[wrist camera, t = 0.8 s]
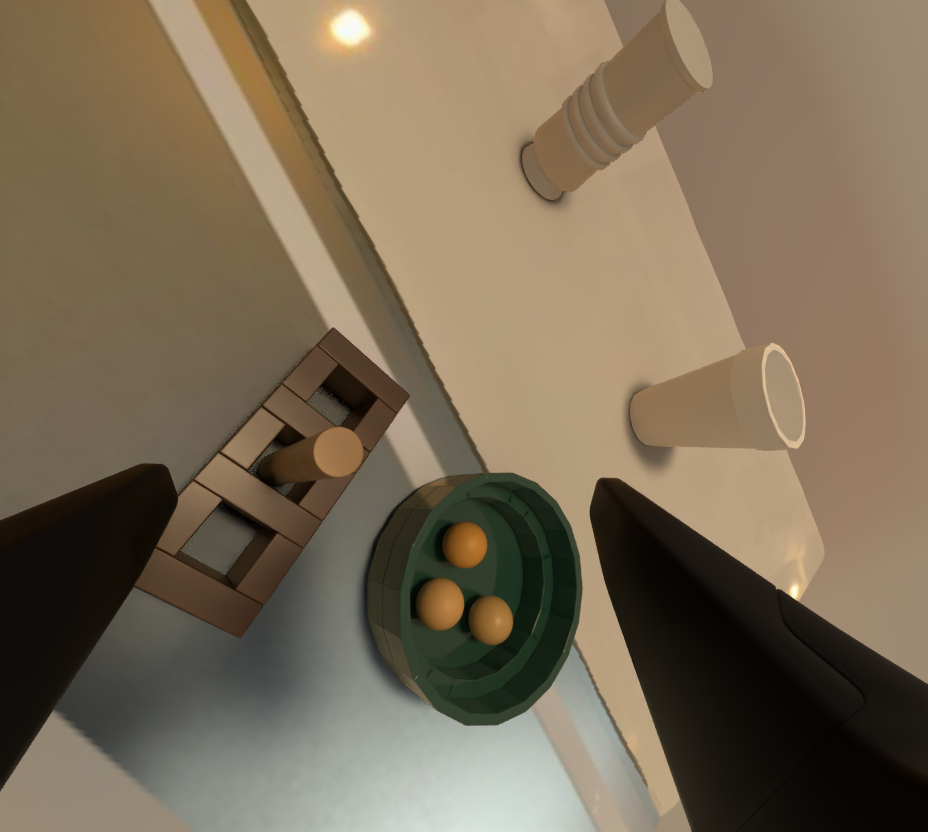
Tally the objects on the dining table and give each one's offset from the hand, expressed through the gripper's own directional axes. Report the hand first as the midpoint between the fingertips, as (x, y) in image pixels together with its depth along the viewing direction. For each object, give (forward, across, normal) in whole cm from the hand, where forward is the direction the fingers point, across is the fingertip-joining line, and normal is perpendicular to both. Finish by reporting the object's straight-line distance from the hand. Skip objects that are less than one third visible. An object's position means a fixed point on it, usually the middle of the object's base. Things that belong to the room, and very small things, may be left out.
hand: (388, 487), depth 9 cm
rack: (+12, +8, +9) cm, 17 cm away
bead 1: (+10, -1, +17) cm, 20 cm away
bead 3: (+10, -5, +19) cm, 23 cm away
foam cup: (+33, -24, +16) cm, 44 cm away
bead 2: (+13, -3, +15) cm, 20 cm away
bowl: (+13, -3, +18) cm, 23 cm away
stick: (+12, +8, +9) cm, 17 cm away
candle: (+42, -10, -8) cm, 44 cm away
